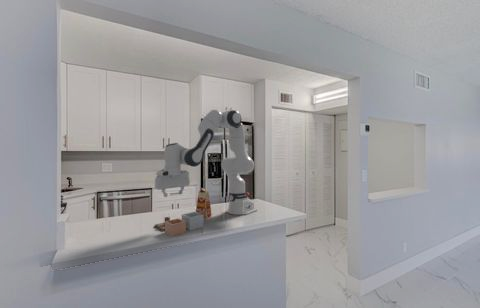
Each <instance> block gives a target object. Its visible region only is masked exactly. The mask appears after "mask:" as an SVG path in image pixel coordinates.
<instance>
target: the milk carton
mask: <svg viewBox="0 0 480 308" xmlns="http://www.w3.org/2000/svg"><path fill="white" fill-rule="evenodd" d="M197 195H198V196H197V198H196V199H197V200H196V207H195V208H196V209H195V212H197V213H200V214H203V221H209V220H210V219H211V218H212V216H213V215H212V214H213V213H212V207H211V199H210V193H209V192H208V190H206V188H204V187H201V189H200V190H199V191H198V194H197Z"/></svg>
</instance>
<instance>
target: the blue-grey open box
mask: <svg viewBox="0 0 480 308" xmlns="http://www.w3.org/2000/svg"><path fill="white" fill-rule="evenodd" d="M181 220H183V221H185V222H186V230H188V231H193V230H196V229H201V228H204V220H203V214H200V213H197V212H196V211H192V212H189V213H188V212H187V213H186V212H185V213H182V214H181ZM200 227H201V228H200Z"/></svg>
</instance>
